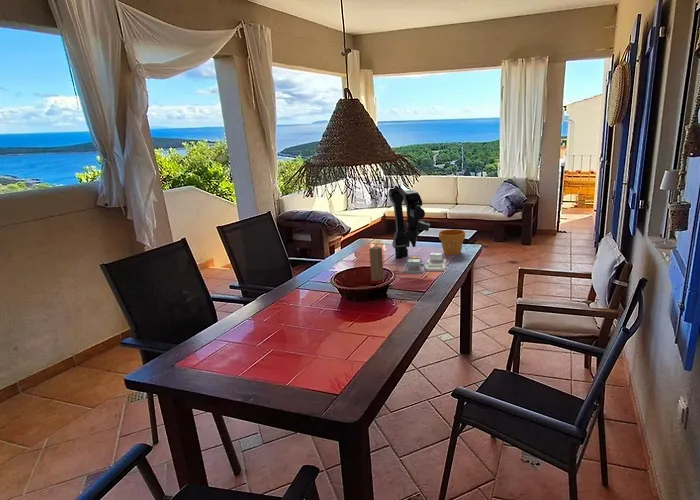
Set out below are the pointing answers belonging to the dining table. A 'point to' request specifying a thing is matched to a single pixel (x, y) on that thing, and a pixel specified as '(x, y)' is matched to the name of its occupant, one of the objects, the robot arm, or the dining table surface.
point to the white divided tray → (435, 265)
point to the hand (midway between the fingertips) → (414, 246)
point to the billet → (414, 264)
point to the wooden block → (376, 264)
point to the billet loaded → (436, 257)
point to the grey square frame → (418, 258)
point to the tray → (414, 271)
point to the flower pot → (452, 241)
